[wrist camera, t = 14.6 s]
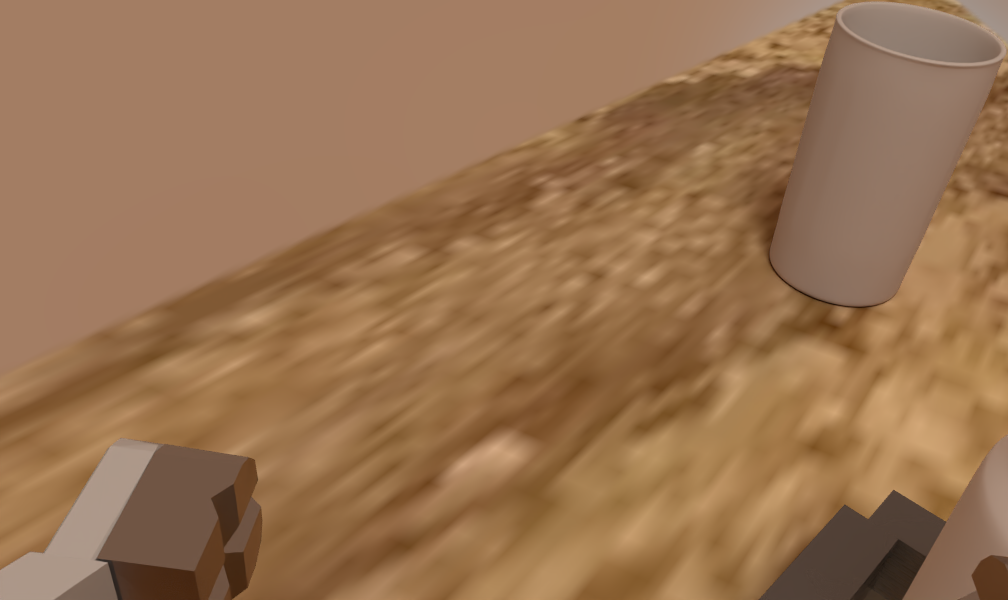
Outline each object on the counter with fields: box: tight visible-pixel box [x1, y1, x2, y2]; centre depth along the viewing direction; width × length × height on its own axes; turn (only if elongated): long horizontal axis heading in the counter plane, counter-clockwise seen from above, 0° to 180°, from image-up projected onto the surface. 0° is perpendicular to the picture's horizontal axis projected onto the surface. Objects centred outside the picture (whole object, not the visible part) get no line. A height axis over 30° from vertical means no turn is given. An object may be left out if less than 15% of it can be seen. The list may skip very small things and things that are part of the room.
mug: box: [770, 2, 1006, 307], centre depth 43 cm, size 10×7×12 cm, turn 172°
